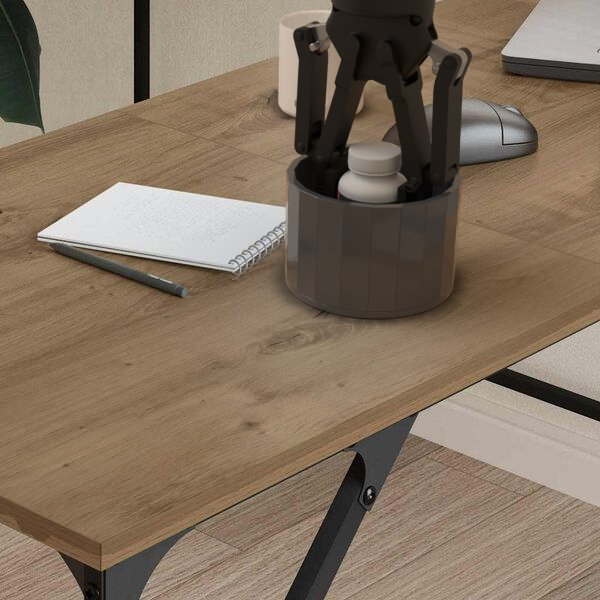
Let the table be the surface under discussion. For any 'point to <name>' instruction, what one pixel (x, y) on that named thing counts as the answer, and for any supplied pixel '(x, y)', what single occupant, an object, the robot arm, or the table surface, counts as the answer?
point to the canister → (369, 248)
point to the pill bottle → (372, 173)
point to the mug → (290, 60)
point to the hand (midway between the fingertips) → (370, 251)
